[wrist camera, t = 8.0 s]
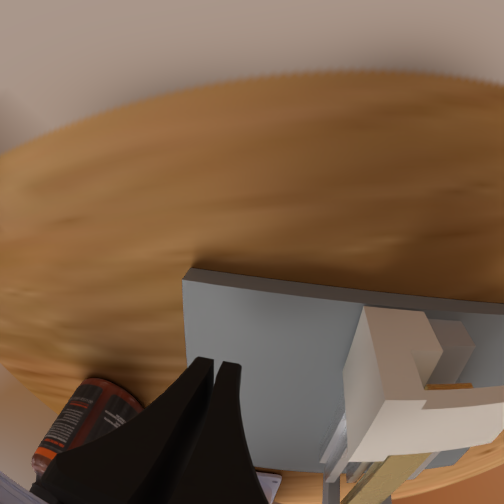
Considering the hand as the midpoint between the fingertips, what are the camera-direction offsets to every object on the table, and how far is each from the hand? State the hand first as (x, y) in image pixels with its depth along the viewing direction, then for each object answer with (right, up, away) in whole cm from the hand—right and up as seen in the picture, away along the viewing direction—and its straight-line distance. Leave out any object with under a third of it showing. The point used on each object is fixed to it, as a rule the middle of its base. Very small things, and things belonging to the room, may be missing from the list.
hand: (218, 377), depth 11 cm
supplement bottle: (-9, -7, +10) cm, 15 cm away
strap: (+9, -6, +2) cm, 11 cm away
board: (+9, -5, +6) cm, 11 cm away
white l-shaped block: (+8, 0, +2) cm, 9 cm away
